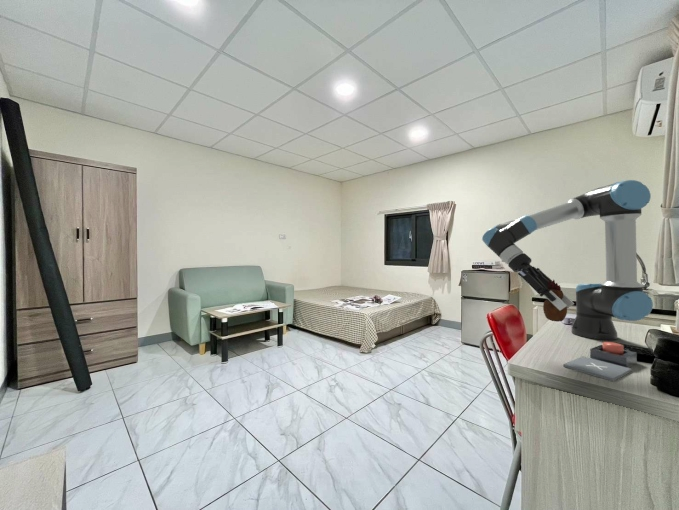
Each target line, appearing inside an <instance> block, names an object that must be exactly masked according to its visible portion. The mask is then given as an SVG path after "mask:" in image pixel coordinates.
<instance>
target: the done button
mask: <svg viewBox="0 0 679 510" xmlns="http://www.w3.org/2000/svg"><path fill="white" fill-rule="evenodd" d="M602 345H603V351H606V352H611V353H615V354H619V355H623V354H624V350H625V348H624V345H623V344H621V343H616V342H613V341H612V342H611V341H602Z"/></svg>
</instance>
